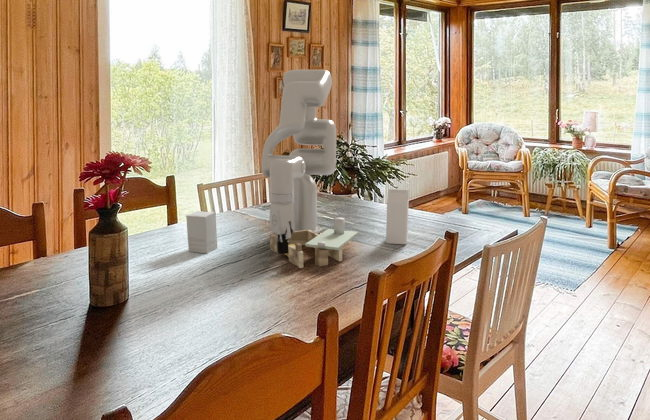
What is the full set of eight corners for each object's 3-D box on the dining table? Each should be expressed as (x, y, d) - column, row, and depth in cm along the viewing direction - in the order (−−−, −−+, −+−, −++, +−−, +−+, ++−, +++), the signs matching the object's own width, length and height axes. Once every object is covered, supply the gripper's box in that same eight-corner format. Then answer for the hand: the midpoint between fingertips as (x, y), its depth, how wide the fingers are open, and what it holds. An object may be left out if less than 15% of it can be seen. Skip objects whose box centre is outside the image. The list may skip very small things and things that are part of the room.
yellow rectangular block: (283, 253, 183) (283, 245, 182) (293, 252, 185) (293, 243, 184) (291, 258, 178) (291, 249, 177) (301, 257, 180) (301, 248, 179)
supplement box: (218, 247, 190) (216, 212, 187) (206, 253, 183) (205, 216, 180) (199, 245, 192) (197, 210, 189) (187, 251, 185) (185, 215, 182)
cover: (328, 230, 191) (328, 214, 190) (358, 234, 187) (358, 217, 186) (303, 247, 172) (303, 229, 170) (336, 251, 168) (336, 232, 167)
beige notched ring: (270, 248, 188) (269, 228, 187) (309, 242, 195) (309, 223, 194) (302, 269, 167) (301, 247, 166) (344, 262, 174) (344, 240, 173)
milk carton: (406, 244, 193) (408, 191, 189) (385, 243, 195) (387, 190, 191) (407, 239, 200) (409, 188, 196) (387, 238, 202) (389, 187, 197)
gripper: (262, 194, 180) (263, 248, 184) (280, 203, 167) (281, 261, 171) (283, 192, 184) (284, 245, 188) (302, 201, 171) (303, 257, 175)
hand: (282, 252), depth 180 cm, fingers closed
